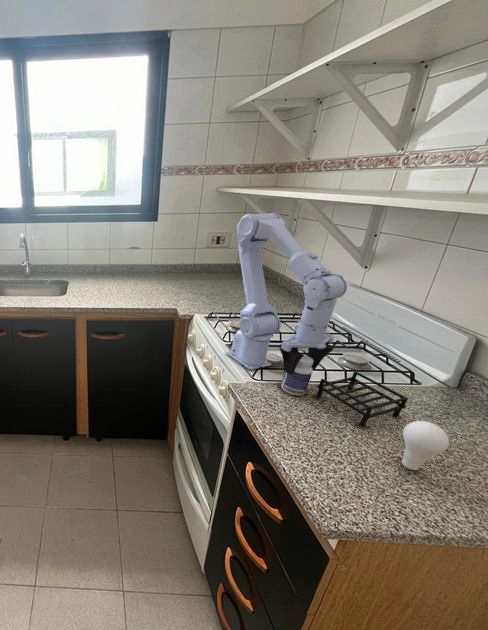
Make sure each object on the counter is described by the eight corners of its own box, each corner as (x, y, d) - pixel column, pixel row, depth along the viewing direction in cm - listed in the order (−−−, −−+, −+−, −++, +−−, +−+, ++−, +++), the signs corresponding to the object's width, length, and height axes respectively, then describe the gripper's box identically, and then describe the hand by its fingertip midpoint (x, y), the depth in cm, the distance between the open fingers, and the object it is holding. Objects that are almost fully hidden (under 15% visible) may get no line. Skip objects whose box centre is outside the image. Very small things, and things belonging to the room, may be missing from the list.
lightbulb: (388, 451, 73) (408, 410, 68) (427, 466, 69) (452, 423, 65) (388, 469, 69) (410, 426, 64) (431, 486, 65) (457, 442, 61)
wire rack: (313, 395, 90) (319, 378, 88) (348, 387, 93) (354, 370, 91) (363, 428, 79) (372, 409, 77) (400, 417, 82) (410, 398, 80)
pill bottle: (310, 396, 90) (321, 364, 86) (288, 396, 90) (298, 364, 86) (297, 383, 95) (307, 352, 91) (276, 383, 95) (285, 352, 91)
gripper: (305, 334, 79) (290, 383, 85) (352, 325, 83) (334, 373, 88) (280, 321, 85) (267, 368, 91) (324, 314, 89) (310, 359, 94)
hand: (299, 370), depth 90 cm, fingers open, 7 cm apart
